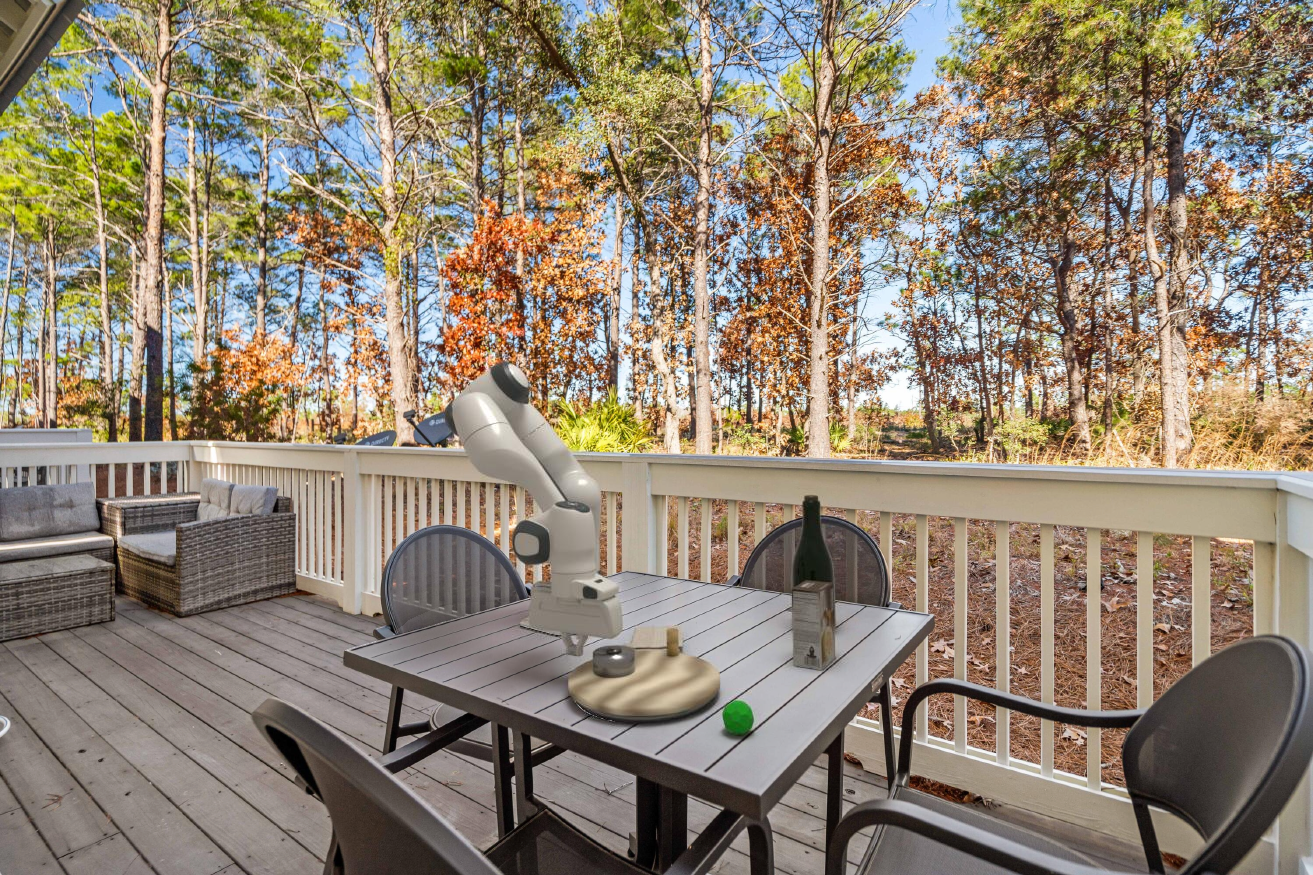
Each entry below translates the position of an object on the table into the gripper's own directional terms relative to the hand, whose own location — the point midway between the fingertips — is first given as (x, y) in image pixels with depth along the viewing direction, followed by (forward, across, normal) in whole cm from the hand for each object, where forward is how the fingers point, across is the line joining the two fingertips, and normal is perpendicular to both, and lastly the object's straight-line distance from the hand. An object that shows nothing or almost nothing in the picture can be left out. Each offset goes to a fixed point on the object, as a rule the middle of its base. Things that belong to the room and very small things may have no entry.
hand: (574, 655), depth 123 cm
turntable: (+3, +15, 0) cm, 16 cm away
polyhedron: (+5, +36, -8) cm, 38 cm away
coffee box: (+5, +40, +29) cm, 50 cm away
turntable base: (+5, +15, 0) cm, 16 cm away
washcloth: (+6, +5, +26) cm, 27 cm away
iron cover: (+2, +9, 0) cm, 9 cm away
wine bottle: (+5, +35, +51) cm, 62 cm away
